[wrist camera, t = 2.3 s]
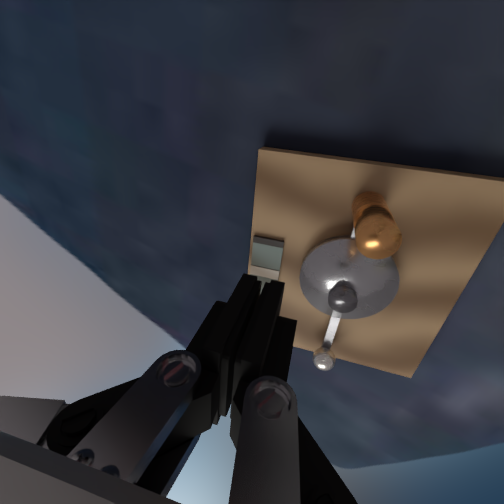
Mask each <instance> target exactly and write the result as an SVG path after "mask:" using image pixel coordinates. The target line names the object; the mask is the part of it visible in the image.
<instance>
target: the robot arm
mask: <svg viewBox="0 0 504 504" xmlns="http://www.w3.org/2000/svg"><path fill="white" fill-rule="evenodd" d="M257 279H258V278H257V276H254V275H249V274H245V273H244V274H243V275H242V277H241V279H240V281H239V282H238V284H237V286H236V288H235V290H234V291H233V293H232V295H231V297H230V299H229V300H228V302H227V303H226V302H222V301H216V302H215V304H214V305H213V307H212V308H211V310H210V312H209V313H208V315H207V316H206V318H205V320H204V321H203V323H202V324H201V326H200V328H199V329H198V331H197V332H196V334H195V336H194V337H193V339H192V341H191V342H190V344H189V345H188V347H187V349H186V350H174V351H170V352H168V353H166V354H164V355H162V356H161V357H159V358H158V359H157V360H156V361H155V362H154V363H153V364H152V365H151V367H150V368H149V369H148V370H147V371H146V372H145V373H144V374H143V375H142V376H141V377H139V378H136V379H134V380H131V381H129V382H126V383H123V384H120V385H118V386H115V387H112V388H110V389H107V390H104V391H102V392H99V393H96V394H94V395H91V396H88V397H86V398H83V399H80V400H78V401H76V402H74V403H72V404H66V402H65V400H52V399H39V398H25V397H11V396H0V504H181V503H178V502H176V501H173V500H171V499H168V498H166V496H167V494H168V493H169V491H170V489H171V488H172V485H173V484H174V482H175V480H176V478H177V477H178V475H179V474H180V472H181V470H182V468H183V467H184V465H185V463H186V461H187V460H188V457H189V456H190V454H191V453H192V451H193V449H194V447H195V445H196V444H197V442H198V440H199V438H200V435H201V433H203V432H205V431H207V430H209V429H210V428H211V426H212V423H213V424H215V425H217V424H218V421H219V419H220V416H221V415H222V416H226V415H227V413H228V410H229V408H230V405H231V414H230V418H231V426H230V427H231V428H230V437H231V439H232V441H233V443H234V446H235V448H236V457H235V464H234V470H233V477H232V484H231V490H230V497H229V504H357V502H356V500H355V498H354V497H353V495H352V494H351V493H350V491H349V489H348V488H347V487H346V485H345V484H344V482H343V481H342V479H341V478H340V476H339V475H338V473H337V472H336V471H335V469H334V468H333V466H332V465H331V463H330V462H329V460H328V459H327V457H326V456H325V455H324V453H323V452H322V450H321V449H320V447H319V446H318V444H317V443H316V441H315V440H314V439H313V437H312V436H311V434H310V433H309V431H308V430H307V428H306V427H305V425H304V424H303V423H302V421H301V420H300V418H299V417H298V412H297V399H296V395H295V393H294V391H293V389H292V388H291V387H290V385H289V384H288V383H287V377H288V371H289V366H290V360H291V354H292V349H293V343H294V337H295V332H296V326H297V320H294V319H290V318H286V317H282V316H279V315H280V310H281V304H282V298H283V293H284V287H285V282H280V281H276V280H271V282H270V283H268V282H265V284H264V287H263V289H262V292H261V285H262V281H259V280H257ZM260 293H261V294H260Z"/></svg>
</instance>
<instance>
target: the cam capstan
mask: <svg viewBox="0 0 504 504" xmlns="http://www.w3.org/2000/svg"><path fill="white" fill-rule="evenodd" d="M352 216H353V227H352V230H351V234H350V235H339V236H334V237H331V238H328V239H325V240H323V241H321V242H320V243H318V244H317V245H315V246H314V247H313V248H312V249H311V250H310V251H309V252H308V253H307V255H306V256H305V258H304V260H303V263H302V266H301V270H300V277H299V279H300V287H301V290H302V292H303V294H304V296H305V298H306V299H307V300H308V302H309V303H310V304H311V305H312V306H314V307H315V308H316V309H318V310H319V311H321V312H323V313H325V314H327V315H329V316H330V319H329V322H328V325H327V329H326V332H325V335H324V339H323V342H322V345H321V347H320V348H318V349H316V350H315V352H314V353H313V362H314V364H315V366H316V367H317V368H319V369H320V370H324V371H327V370H330V369H331V368H333V366H334V365H335V355H334V353H333V352H332V351H331V350H330V348H331V345H332V342H333V339H334V336H335V333H336V330H337V327H338V324H339V321H340V318H341V319H360V318H365V317H369V316H372V315H374V314H376V313H378V312H380V311H382V310H383V309H385V308H386V307H387V306H388V305H389V304H390V303H391V302H392V301H393V299H394V298H395V296H396V294H397V292H398V289H399V283H400V277H399V272H398V269H397V266H396V264H395V261H394V259H393V257H392V256H391V255H393V254H394V253H396V252H397V251H398V249H399V248H400V246H401V243H402V235H401V232H400V230H399V228H398V226H397V224H396V222H395V220H394V218H393V216H392V213H391V211H390V209H389V207H388V205H387V203H386V201H385V199H384V197H383V196H382V195H381V194H379V193H377V192H373V191H367V192H364V193H361V194H360V195H358V196H357V197H356V198H355V199H354V201H353V203H352Z"/></svg>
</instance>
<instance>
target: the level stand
mask: <svg viewBox="0 0 504 504" xmlns="http://www.w3.org/2000/svg"><path fill="white" fill-rule="evenodd" d="M367 191H373V192H377V193H379V194H381V195H382V196H383V197H384V199H385V201H386V203H387V205H388V207H389V209H390V211H391V213H392V216H393V218H394V220H395V222H396V224H397V226H398V228H399V230H400V232H401V235H402V243H401V246H400V248H399V249H398V251H397V252H396V253H394V254H393V255H391V256H392V257H393V259H394V261H395V264H396V266H397V269H398V272H399V277H400V283H399V289H398V292H397V294H396V296H395V298H394V299H393V301H392V302H391V303H390V304H389V305H388V306H387V307H386V308H385V309H383V310H382V311H380V312H378V313H376V314H374V315H372V316H369V317H365V318H360V319H341V318H340V321H339V324H338V327H337V330H336V333H335V336H334V339H333V342H332V345H331V348H330V350H331V351H332V352H333V353H334V355H335V358H339V359H343V360H346V361H350V362H354V363H358V364H361V365H365V366H369V367H372V368H376V369H380V370H383V371H387V372H391V373H394V374H398V375H402V376H405V377H409V378H411V377H412V375H413V374H414V372H415V370H416V368H417V367H418V365H419V363H420V362H421V360H422V358H423V357H424V355H425V353H426V352H427V350H428V348H429V347H430V345H431V343H432V342H433V340H434V338H435V337H436V335H437V333H438V331H439V330H440V328H441V326H442V325H443V323H444V321H445V320H446V318H447V316H448V315H449V313H450V311H451V310H452V308H453V306H454V305H455V303H456V301H457V300H458V298H459V296H460V294H461V293H462V291H463V289H464V288H465V286H466V284H467V283H468V281H469V279H470V278H471V276H472V274H473V273H474V271H475V269H476V268H477V266H478V264H479V263H480V261H481V259H482V257H483V256H484V254H485V252H486V251H487V249H488V247H489V246H490V244H491V242H492V241H493V239H494V237H495V236H496V234H497V232H498V231H499V229H500V227H501V226H502V224H503V222H504V178H500V177H493V176H485V175H477V174H470V173H462V172H454V171H447V170H439V169H431V168H424V167H416V166H408V165H400V164H393V163H385V162H377V161H370V160H362V159H354V158H347V157H339V156H331V155H324V154H316V153H308V152H300V151H293V150H285V149H277V148H270V147H262V148H260V149H259V152H258V164H257V175H256V186H255V198H254V209H253V221H252V232H251V243H250V255H249V266H248V274H249V275H254V276H257V278H258V279H257V280H259V281H262V285H261V292H262V289H263V287H264V284H265V282H268V283H270V282H271V280H276V281H280V282H285V287H284V293H283V298H282V304H281V310H280V315H279V316H282V317H286V318H290V319H294V320H297V326H296V332H295V337H294V343H293V346H295V347H299V348H302V349H306V350H310V351H313V352H315V350H316V349H318V348H320V347H321V345H322V342H323V339H324V335H325V332H326V329H327V325H328V322H329V319H330V316H329V315H327V314H325V313H323V312H321V311H319V310H318V309H316V308H315V307H314V306H312V305H311V304H310V303H309V302H308V300H307V299H306V298H305V296H304V294H303V292H302V290H301V287H300V279H299V277H300V270H301V266H302V263H303V260H304V258H305V256H306V255H307V253H308V252H309V251H310V250H311V249H312V248H313V247H314V246H315V245H317V244H318V243H320V242H321V241H323V240H325V239H328V238H331V237H334V236H339V235H350V234H351V230H352V227H353V216H352V203H353V201H354V199H355V198H356V197H357V196H358V195H360V194H361V193H364V192H367ZM260 294H261V293H260Z"/></svg>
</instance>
